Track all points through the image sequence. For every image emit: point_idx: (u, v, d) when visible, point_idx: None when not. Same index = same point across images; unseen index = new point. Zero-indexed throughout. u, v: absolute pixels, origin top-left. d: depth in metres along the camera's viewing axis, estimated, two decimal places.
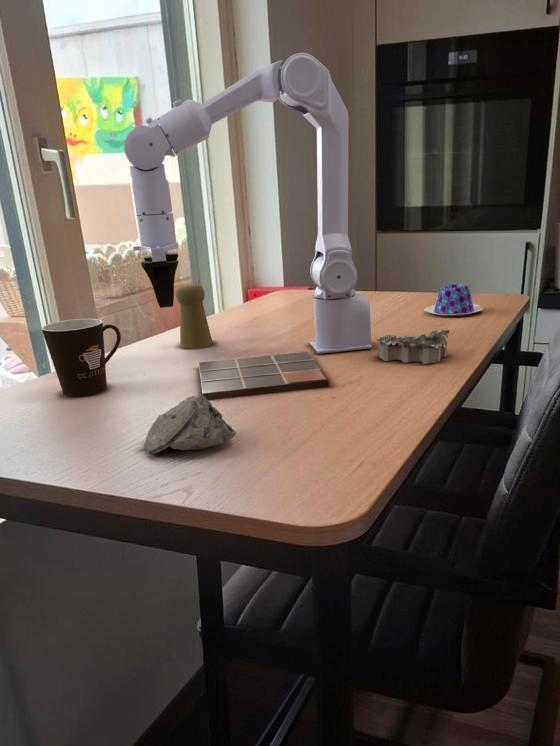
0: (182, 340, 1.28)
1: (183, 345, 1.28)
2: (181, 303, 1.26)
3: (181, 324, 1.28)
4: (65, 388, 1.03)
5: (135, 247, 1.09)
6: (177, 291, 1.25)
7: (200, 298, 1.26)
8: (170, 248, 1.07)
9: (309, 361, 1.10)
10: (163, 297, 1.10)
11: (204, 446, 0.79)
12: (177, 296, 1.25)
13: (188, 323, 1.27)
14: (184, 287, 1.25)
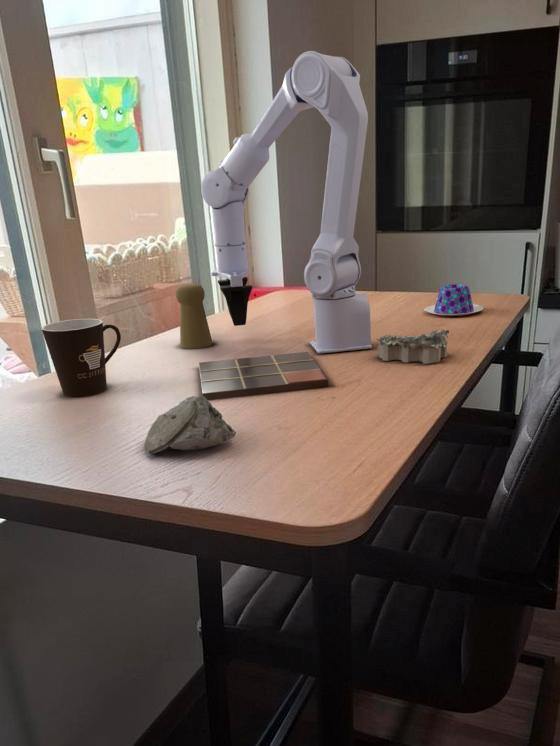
0: (182, 340, 1.28)
1: (183, 345, 1.28)
2: (181, 303, 1.26)
3: (181, 324, 1.28)
4: (65, 388, 1.03)
5: (213, 273, 1.25)
6: (177, 291, 1.25)
7: (200, 298, 1.26)
8: (245, 274, 1.24)
9: (309, 361, 1.10)
10: (237, 317, 1.26)
11: (204, 446, 0.79)
12: (177, 296, 1.25)
13: (188, 323, 1.27)
14: (184, 287, 1.25)
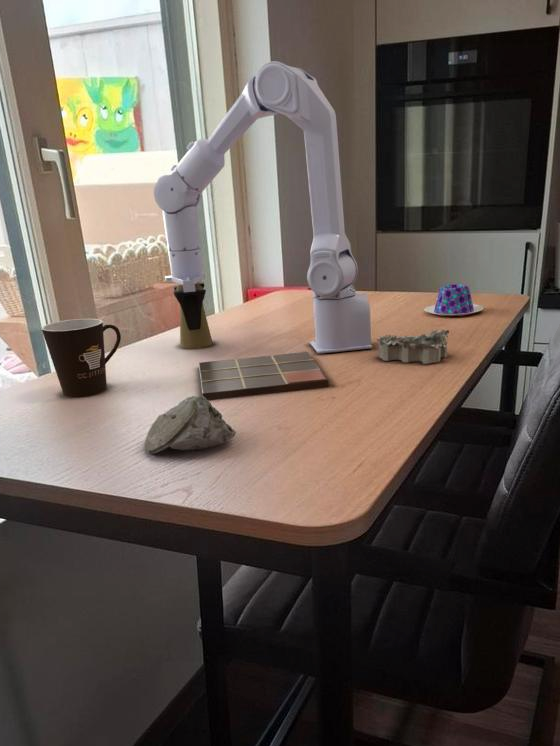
0: (182, 340, 1.28)
1: (183, 345, 1.28)
2: None
3: (181, 324, 1.28)
4: (65, 388, 1.03)
5: (167, 278, 1.24)
6: None
7: None
8: (198, 279, 1.22)
9: (309, 361, 1.10)
10: (192, 321, 1.26)
11: (204, 446, 0.79)
12: None
13: None
14: None
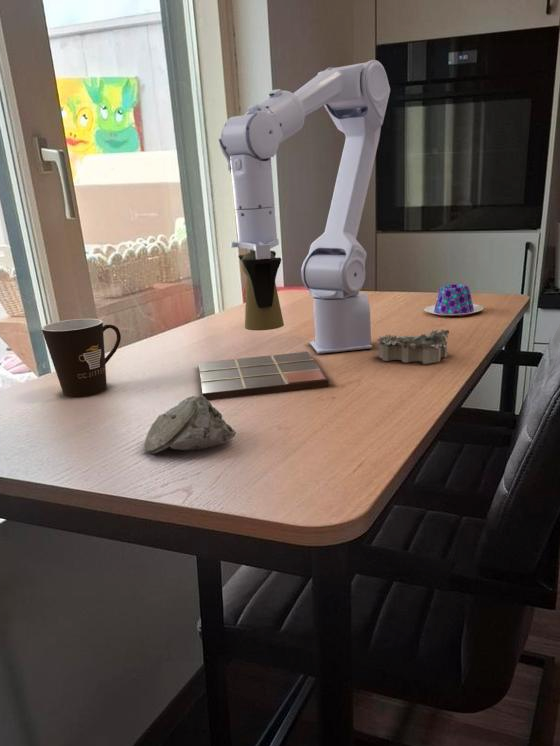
0: (248, 320, 1.06)
1: (249, 326, 1.06)
2: None
3: (247, 301, 1.05)
4: (65, 388, 1.03)
5: (234, 244, 1.01)
6: None
7: None
8: (273, 245, 1.00)
9: (309, 361, 1.10)
10: (262, 296, 1.03)
11: (204, 446, 0.79)
12: (244, 266, 1.03)
13: None
14: (253, 254, 1.02)
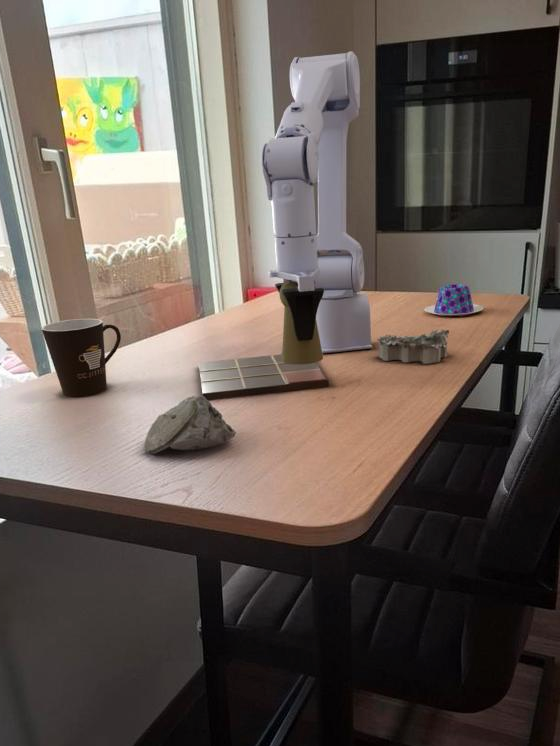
0: (286, 354, 0.99)
1: (287, 360, 0.99)
2: (287, 306, 0.97)
3: (286, 333, 0.98)
4: (65, 388, 1.03)
5: (273, 273, 0.95)
6: None
7: None
8: (315, 275, 0.93)
9: None
10: (303, 329, 0.96)
11: (204, 446, 0.79)
12: (283, 297, 0.96)
13: None
14: (293, 284, 0.95)
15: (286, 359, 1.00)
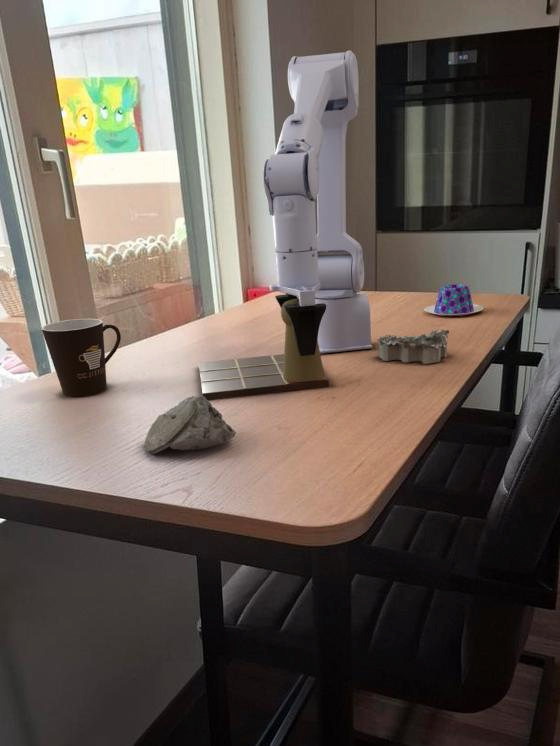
0: (287, 371, 1.00)
1: (289, 377, 1.00)
2: (289, 324, 0.98)
3: (287, 351, 1.00)
4: (65, 388, 1.03)
5: (274, 287, 0.96)
6: None
7: None
8: (316, 289, 0.94)
9: None
10: (305, 344, 0.96)
11: (204, 446, 0.79)
12: (284, 315, 0.97)
13: (297, 349, 0.98)
14: (294, 303, 0.96)
15: (287, 376, 1.01)
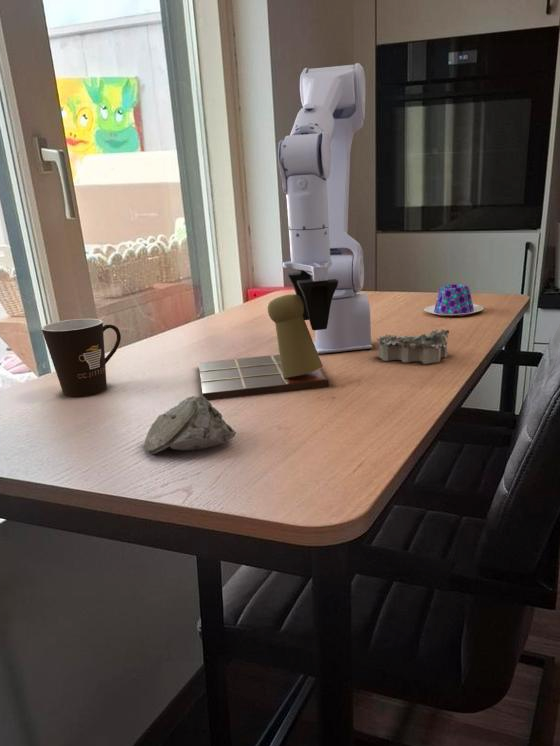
0: (285, 368, 1.00)
1: (287, 374, 1.00)
2: (277, 321, 0.99)
3: (281, 348, 1.00)
4: (65, 388, 1.03)
5: (287, 264, 1.00)
6: (270, 307, 0.98)
7: (300, 309, 0.98)
8: (328, 266, 0.98)
9: None
10: (317, 319, 1.00)
11: (204, 446, 0.79)
12: (271, 313, 0.98)
13: (290, 344, 0.99)
14: (278, 299, 0.97)
15: (286, 373, 1.00)
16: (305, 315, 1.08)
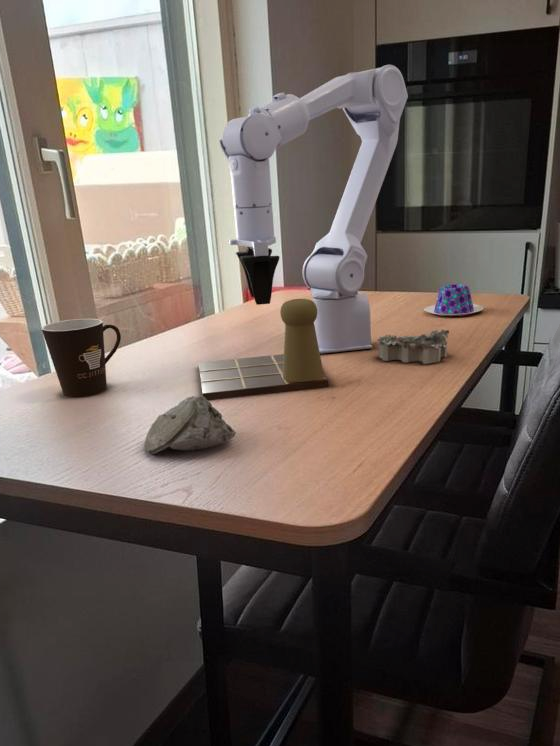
0: (286, 371, 1.00)
1: (287, 377, 1.00)
2: (288, 324, 0.98)
3: (286, 350, 1.00)
4: (65, 388, 1.03)
5: (232, 241, 1.05)
6: (283, 309, 0.97)
7: (312, 317, 0.97)
8: (270, 242, 1.03)
9: None
10: (260, 294, 1.05)
11: (204, 446, 0.79)
12: (283, 315, 0.97)
13: (296, 350, 0.98)
14: (293, 303, 0.96)
15: (286, 376, 1.01)
16: (253, 292, 1.12)
